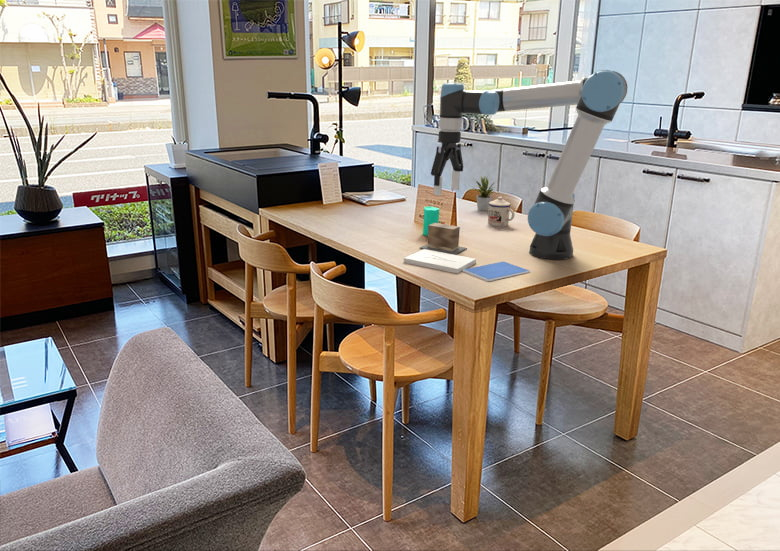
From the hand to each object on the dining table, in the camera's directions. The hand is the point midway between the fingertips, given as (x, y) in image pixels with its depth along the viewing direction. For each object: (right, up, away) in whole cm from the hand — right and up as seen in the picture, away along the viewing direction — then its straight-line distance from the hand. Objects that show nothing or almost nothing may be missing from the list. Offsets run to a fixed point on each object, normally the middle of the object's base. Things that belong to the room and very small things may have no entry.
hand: (446, 192), depth 223 cm
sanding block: (-1, -19, +6) cm, 20 cm away
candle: (-4, -13, +26) cm, 30 cm away
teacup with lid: (+27, -8, +45) cm, 53 cm away
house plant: (+23, +2, +75) cm, 78 cm away
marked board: (-3, -25, -10) cm, 27 cm away
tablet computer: (+15, -29, -18) cm, 37 cm away
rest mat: (-1, -20, +6) cm, 21 cm away
